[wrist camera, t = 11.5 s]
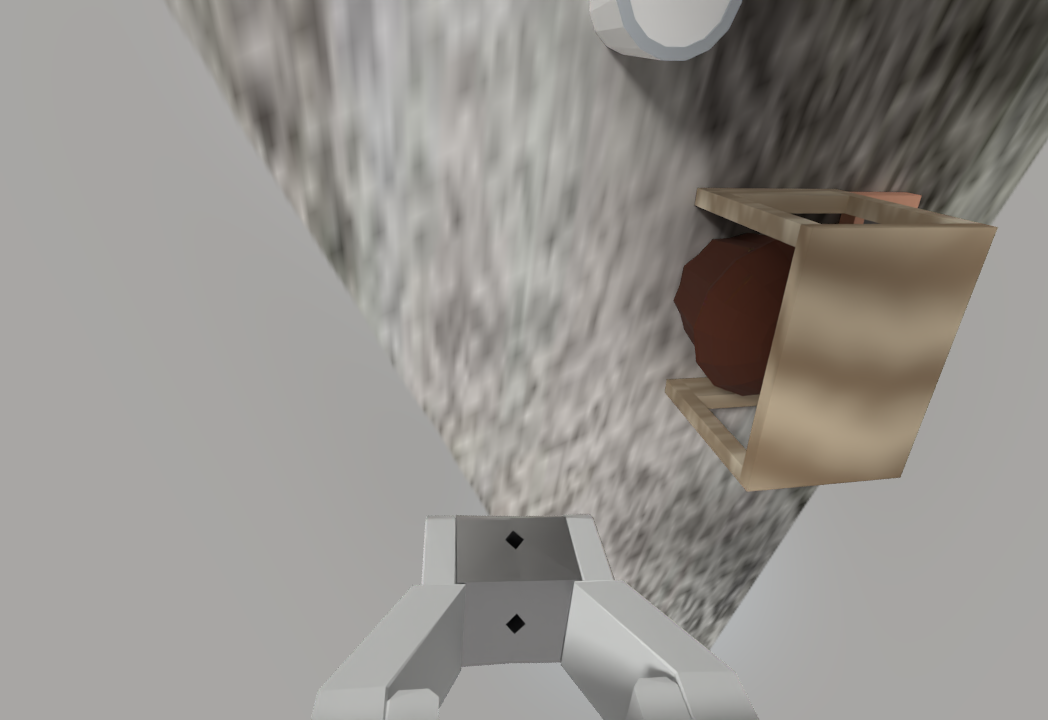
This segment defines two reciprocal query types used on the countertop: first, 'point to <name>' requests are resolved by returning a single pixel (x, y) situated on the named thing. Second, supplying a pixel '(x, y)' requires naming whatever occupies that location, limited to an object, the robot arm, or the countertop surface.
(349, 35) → the countertop surface
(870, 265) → the tunnel
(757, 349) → the muffin
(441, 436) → the countertop surface
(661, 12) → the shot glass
